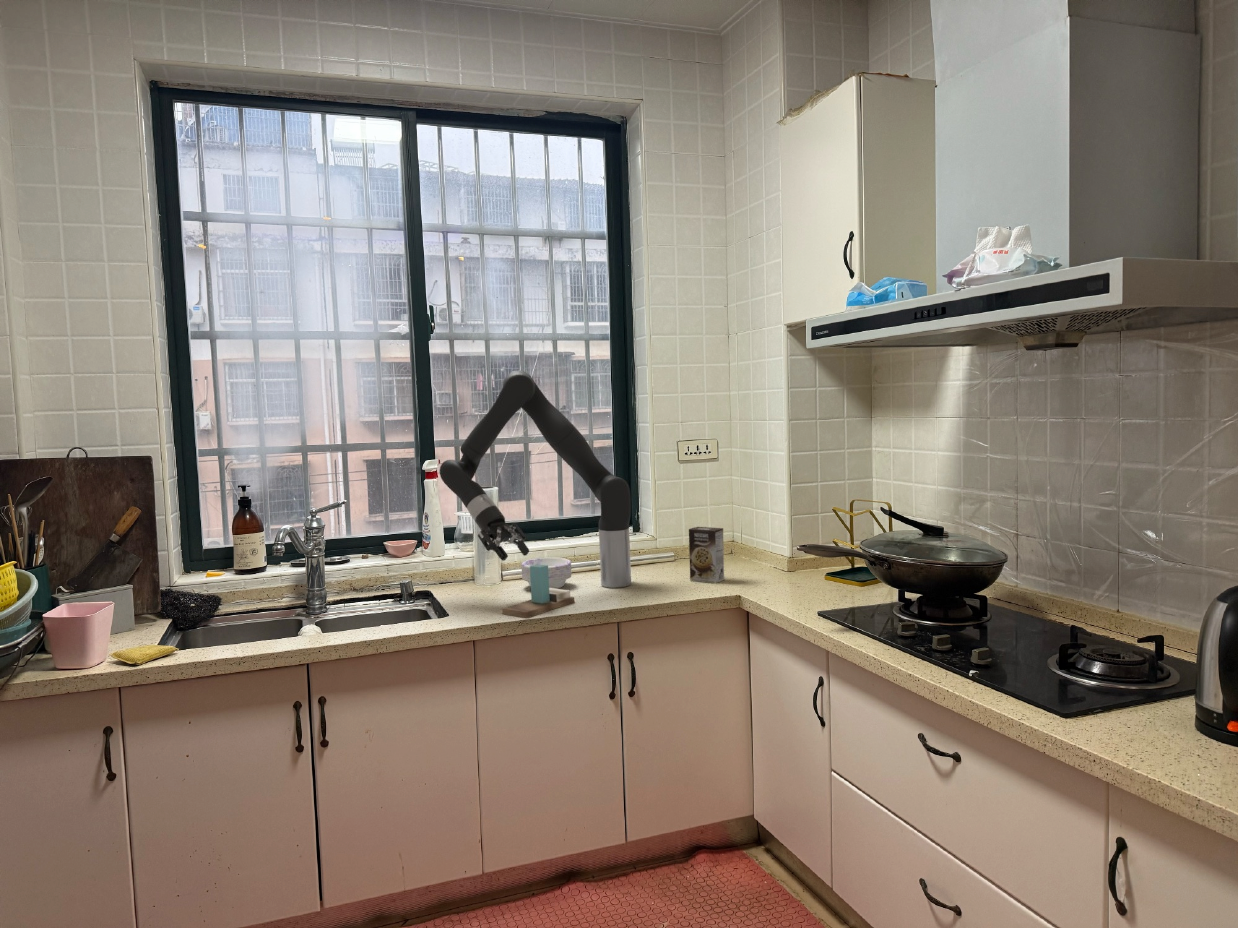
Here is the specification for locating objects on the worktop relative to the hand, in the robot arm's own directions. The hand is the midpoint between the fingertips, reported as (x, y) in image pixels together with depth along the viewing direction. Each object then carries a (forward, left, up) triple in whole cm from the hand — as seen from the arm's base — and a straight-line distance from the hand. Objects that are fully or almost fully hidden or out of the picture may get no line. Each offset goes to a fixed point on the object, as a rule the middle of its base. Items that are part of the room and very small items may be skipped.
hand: (516, 556), depth 239 cm
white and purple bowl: (-20, +7, -14) cm, 26 cm away
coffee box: (-18, +56, -14) cm, 61 cm away
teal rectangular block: (+6, +6, -12) cm, 15 cm away
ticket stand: (+6, +6, -14) cm, 16 cm away
